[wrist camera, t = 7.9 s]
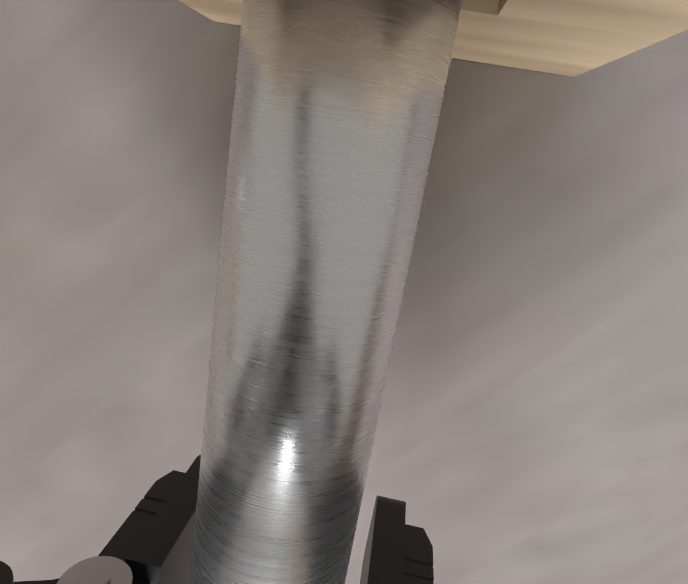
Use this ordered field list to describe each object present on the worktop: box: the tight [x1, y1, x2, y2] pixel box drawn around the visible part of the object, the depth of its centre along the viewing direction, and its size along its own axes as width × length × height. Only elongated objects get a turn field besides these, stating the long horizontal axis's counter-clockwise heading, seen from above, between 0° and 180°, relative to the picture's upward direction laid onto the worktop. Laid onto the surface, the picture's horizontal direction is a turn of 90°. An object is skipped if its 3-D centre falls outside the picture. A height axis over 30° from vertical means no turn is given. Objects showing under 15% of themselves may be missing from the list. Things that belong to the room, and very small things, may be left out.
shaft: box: [189, 0, 463, 584], centre depth 8 cm, size 19×3×3 cm, turn 171°
